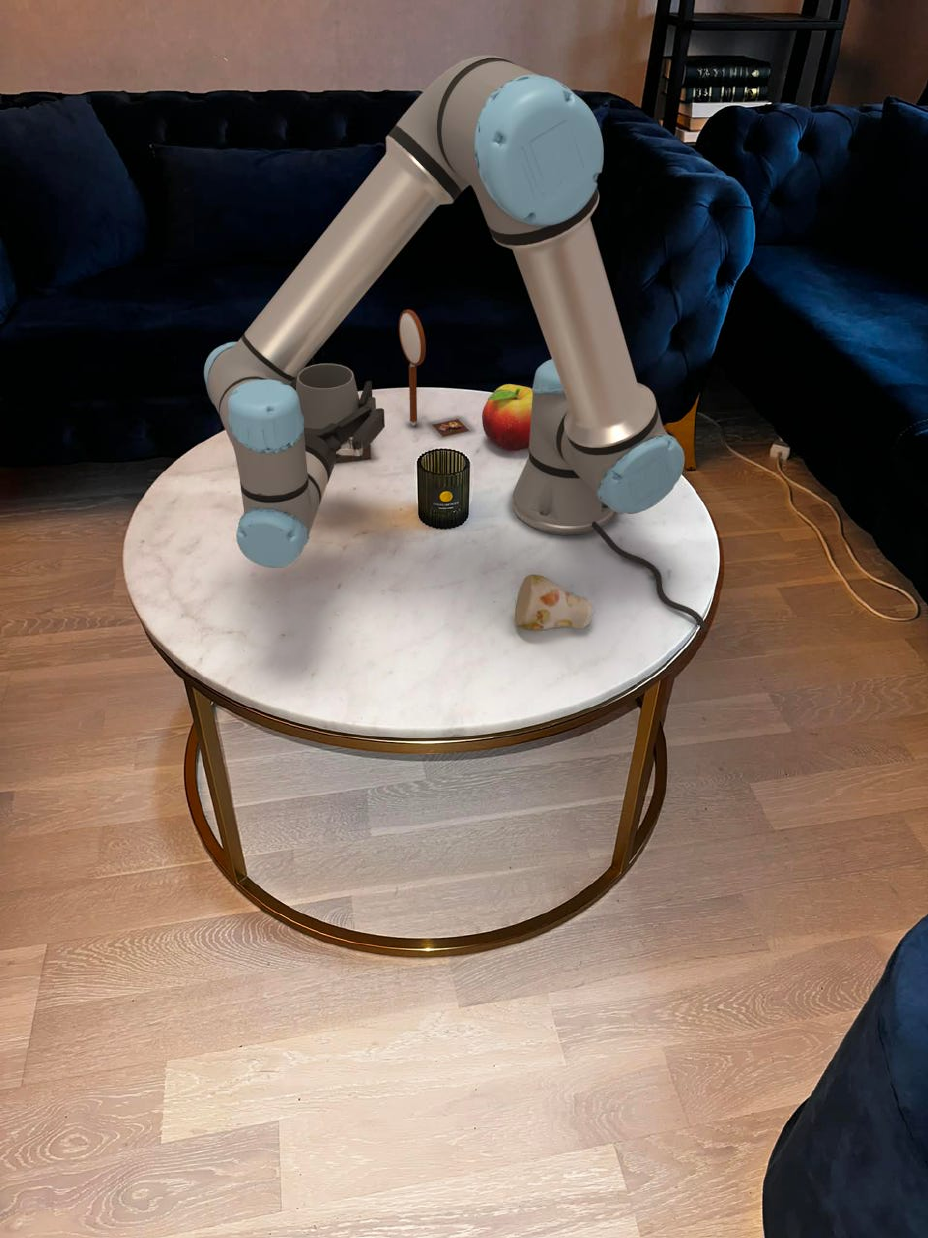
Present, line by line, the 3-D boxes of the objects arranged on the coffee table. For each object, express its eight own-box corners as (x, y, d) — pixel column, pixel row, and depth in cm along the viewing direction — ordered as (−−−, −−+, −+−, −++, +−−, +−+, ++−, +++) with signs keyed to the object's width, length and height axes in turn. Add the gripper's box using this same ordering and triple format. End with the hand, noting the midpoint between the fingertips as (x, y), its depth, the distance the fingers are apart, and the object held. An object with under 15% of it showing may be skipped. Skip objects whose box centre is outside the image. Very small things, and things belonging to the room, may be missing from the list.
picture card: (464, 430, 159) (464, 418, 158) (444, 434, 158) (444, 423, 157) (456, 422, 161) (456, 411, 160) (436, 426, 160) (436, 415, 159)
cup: (353, 420, 137) (348, 355, 130) (373, 451, 130) (370, 385, 124) (289, 432, 134) (281, 366, 128) (307, 464, 128) (300, 397, 121)
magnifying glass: (398, 415, 163) (395, 302, 150) (407, 413, 163) (405, 300, 150) (419, 438, 157) (418, 322, 144) (429, 436, 157) (428, 320, 144)
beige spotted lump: (599, 643, 119) (570, 599, 112) (529, 657, 123) (497, 616, 116) (599, 595, 124) (571, 550, 116) (531, 611, 128) (500, 568, 120)
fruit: (558, 449, 155) (563, 393, 148) (501, 465, 151) (504, 409, 144) (523, 420, 162) (527, 366, 155) (468, 435, 158) (470, 380, 151)
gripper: (214, 493, 118) (260, 407, 135) (388, 504, 117) (412, 416, 134) (205, 440, 113) (253, 358, 130) (386, 451, 112) (411, 367, 129)
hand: (334, 387), depth 132 cm, fingers closed on cup, 9 cm apart
